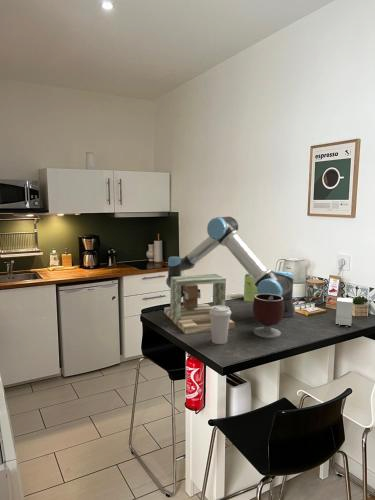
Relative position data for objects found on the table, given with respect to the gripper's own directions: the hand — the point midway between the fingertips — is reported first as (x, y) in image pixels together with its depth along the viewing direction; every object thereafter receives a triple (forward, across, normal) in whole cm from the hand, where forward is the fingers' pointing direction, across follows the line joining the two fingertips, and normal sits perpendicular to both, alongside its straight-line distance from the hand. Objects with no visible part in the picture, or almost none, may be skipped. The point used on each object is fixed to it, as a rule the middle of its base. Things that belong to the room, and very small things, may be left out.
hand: (193, 296), depth 201 cm
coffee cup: (+36, +2, -11) cm, 38 cm away
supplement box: (+33, -68, -11) cm, 76 cm away
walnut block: (-5, 0, -7) cm, 9 cm away
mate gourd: (+33, -24, -11) cm, 43 cm away
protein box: (-21, -50, -11) cm, 55 cm away
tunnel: (+5, 0, -11) cm, 12 cm away
